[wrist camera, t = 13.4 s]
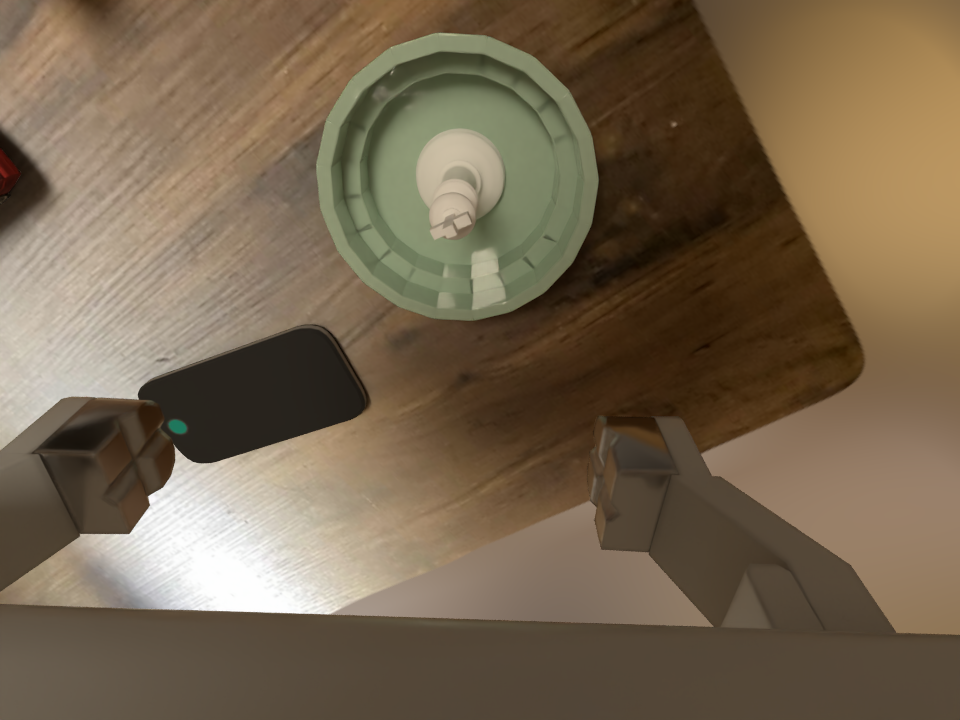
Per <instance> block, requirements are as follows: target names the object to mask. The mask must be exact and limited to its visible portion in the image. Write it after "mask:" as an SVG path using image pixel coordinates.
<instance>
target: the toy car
mask: <svg viewBox="0 0 960 720" xmlns="http://www.w3.org/2000/svg"><path fill="white" fill-rule="evenodd" d="M20 175H21V172H20V171H19V170H18V168H17V167H16V166H15V165H14V163H13V162H12V161H11V160H10V158H9V157H8V156H7V155H6V154H5V152H4V151H3V150H2V149H1V148H0V204H1V203H3V202H4V201H6V200H7V199H8V198H9V197H10V196H11V194H8V193H9V191H10V190H11V189H12V187H13V186H14V185H15V183H16V182H17V180H18V178H19V177H20Z"/></svg>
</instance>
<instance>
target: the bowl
mask: <svg viewBox="0 0 960 720" xmlns="http://www.w3.org/2000/svg"><path fill="white" fill-rule="evenodd" d="M457 128H463V129H469V130H473V131H476V132H478V133H480V134H482V135H484V136H485V137H486V138H488V139H489V140H490V141H491V142H492V143H493V144H494V145H495V147H496V148H497V149H498V151H499V153H500V155H501V157H502V159H503V163H504V167H505V185H504V189H503V192H502V194H501V197H500V198H499V200H498V202H497V203H496V205H495V206H494V207H493V209H492V210H491V211H490V212H488V213H487V214H486V215H484V216H483V217H481V218H479V219H477V220H476V223H475V226H474V228H473V230H472V231H471V232H470V233H469V234H468V235H467V236H465V237H464V238H461V239H457V240H449V239H445V238H443V237H440V238H438V239H436V240H434V239H433V237H432V235H431V233H430V227H432V226H431V224H430V221H429V211H430V209H429V208H428V207H427V206H426V204H425V203H424V202H423V200H422V198H421V196H420V194H419V191H418V188H417V183H416V165H417V161H418V158H419V155H420V153H421V151H422V150H423V148H424V146H425V145H426V144H427V143H428V142H429V141H430V140H431V139H432V138H433V137H435V136H436V135H438V134H439V133H441V132H444V131H446V130H450V129H457ZM316 164H317V165H316V172H317V182H318V192H319V202H320V210H321V212H322V215H323V217H324V220H325V222H326V224H327V227H328V229H329V232H330V234H331V236H332V239H333V241H334V244H335V246H336V248H337V250H338V252H339V253H340V255H341V256H342V257H343V258H344V259H345V261H346V262H347V263H348V264H349V266H350V267H351V268H352V269H353V271H354V272H355V273H356V274H357V276H358V277H359V278H360V279H361V280H362V282H363V283H365V284H366V285H367V286H369V287H370V288H372V289H373V290H375V291H376V292H378V293H379V294H380V295H382V296H383V297H385V298H386V299H388V300H389V301H390V302H392V303H393V304H395V305H397V306H398V307H400V308H403V309H406V310H409V311H412V312H415V313H418V314H421V315H424V316H427V317H429V318H432V319H434V318H435V319H444V320H464V321H473V320H474V321H475V320H479V319H483V318H488V317H492V316H496V315H500V314H505V313H509V312H510V311H511V312H512V311H514V310H515V309H517V308H519V307H521V306H522V305H524V304H526V303H528V302H529V301H531V300H533V299H535V298H536V297H538V296H540V295H542V294H543V293H544V292H546V291H547V290H548V289H549V288H550V287H551V286H552V285H553V283H554V282H555V281H556V280H557V279H558V278H559V277H560V276H561V275H562V274H563V273H564V272H565V271H566V270H567V269H568V268H569V267H570V266H571V264H572V262H574V260H575V258H576V256H577V254H578V252H579V250H580V248H581V246H582V244H583V242H584V240H585V238H586V236H587V234H588V232H589V230H590V228H591V224H592V222H593V215H594V209H595V203H596V197H597V190H598V184H599V177H598V171H597V164H596V158H595V151H594V144H593V138H592V135H591V132H590V130H589V128H588V126H587V124H586V122H585V120H584V118H583V116H582V114H581V112H580V110H579V108H578V106H577V104H576V102H575V100H574V98H573V96H572V94H571V93H570V92H569V90H568V89H567V88H566V87H565V86H564V85H563V84H562V83H561V82H560V81H559V80H558V79H557V78H556V77H555V76H554V75H553V74H552V73H551V72H550V71H549V70H548V69H547V68H546V67H545V66H544V65H543V64H541V63H540V62H539V61H538V60H537V59H536V58H535V57H533V56H532V55H530V54H528V53H526V52H523V51H521V50H519V49H517V48H515V47H512V46H510V45H508V44H506V43H503V42H501V41H499V40H497V39H494V38H492V37H490V36H488V37H487V36H486V35H473V34H456V33H440V32H439V33H433V34H430V35H427V36H424V37H421V38H418V39H414V40H411V41H408V42H405V43H402V44H399V45H396V46H392V47H390V48H389V49H387V50H386V51H384V52H383V53H382V54H381V55H379V56H378V57H377V58H376V59H374V60H373V61H372V62H371V63H369V64H368V65H367V66H365V67H364V68H363V69H362V70H360V71H359V72H358V73H357V74H355V75H354V76H353V77H352V79H350V80H349V82H348V84H347V85H346V87H345V89H344V90H343V92H342V94H341V95H340V97H339V99H338V100H337V102H336V103H335V105H334V107H333V108H332V110H331V112H330V113H329V115H328V117H327V120H326V121H325V126H324V130H323V135H322V140H321V144H320V149H319V153H318V158H317V163H316Z"/></svg>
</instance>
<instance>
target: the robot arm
mask: <svg viewBox="0 0 960 720" xmlns="http://www.w3.org/2000/svg"><path fill="white" fill-rule="evenodd" d="M164 420H165V418H164V416H163V413H162V411H161V408H160V406H159V404H157V403H155V402H153V401H151V400H135V399H117V398H94V397H68V398H64V399H61V400H60V401H59V402H58V403H56V404H55V405H54V406H53V407H52V408H50V409H49V410H48V411H47V412H46V413H45V414H43V415H42V416H41V417H40V418H39V419H37V420H36V421H35V422H34V423H33V424H31V425H30V426H29V427H28V428H27V429H26V430H24V431H23V432H22V433H21V434H20V435H18V436H17V437H16V438H15V439H14V440H12V441H11V442H10V443H9V444H8V445H7V446H5V447H4V448H3V449H2V450H1V451H0V591H2V590H3V589H5V588H6V587H8V586H9V585H10V584H12V583H13V582H15V581H16V580H18V579H19V578H21V577H22V576H23V575H25V574H26V573H28V572H29V571H31V570H32V569H33V568H35V567H36V566H38V565H39V564H41V563H42V562H44V561H45V560H46V559H48V558H49V557H51V556H52V555H54V554H55V553H57V552H58V551H59V550H61V549H62V548H64V547H65V546H67V545H68V544H69V543H71V542H72V541H74V540H75V539H77V538H78V537H80V534H130V532H131V531H132V529H133V528H134V527H135V525H136V524H137V523H138V521H139V520H140V518H141V517H142V516H143V514H144V513H145V512H146V510H147V509H148V507H149V506H150V504H149V499H148V496H149V495H151V494H152V493H154V492H156V491H158V490H159V489H161V488H163V487H164V485H165V484H166V482H167V481H168V479H169V478H170V476H171V474H172V470H173V467H174V463H175V448H174V445H173V442H172V439H171V437H170V436H168V435H167V434H166V433H165V432H164V431H163V430H161V429H160V427H161V425H162V423H163V421H164ZM593 436H594V440H595V444H596V446H595V447H594V448H593V449H592V450H591V451H590V452H589V459H588V466H587V483H588V492H589V497H590V501H591V502H592V503H593V504H594V505H595V506H596V507H597V509H596V515H595V525H596V529H597V534H598V538H599V542H600V547H601V549H602V550H619V551H636V552H649V555H650V556H651V558H653V560H654V561H655V562H656V563H657V564H658V565H659V566H660V568H661V569H662V570H663V571H664V572H665V573H666V574H667V575H668V576H669V577H670V579H672V581H673V582H674V583H675V584H676V585H677V586H678V587H679V589H680V590H681V591H683V593H684V594H685V595H686V596H687V597H688V598H689V600H690V601H691V602H692V603H693V604H694V605H695V606H696V607H697V608H698V610H699V611H700V612H701V613H702V614H703V615H704V616H705V617H706V618H707V620H708V621H709V622H710V623H711V624H712V625H713V626H714V627H696V626H666V625H634V624H602V623H600V624H599V623H571V622H539V621H538V622H537V621H508V620H478V619H448V618H416V617H388V616H386V617H385V616H357V615H356V616H355V615H326V614H295V613H263V612H232V611H201V610H169V609H138V608H107V607H76V606H45V605H13V604H0V720H960V635H945V634H913V633H912V634H911V633H896V631H895V630H894V628H893V627H892V625H891V624H890V623H889V621H888V619H887V618H886V617H885V615H884V614H883V612H882V611H881V609H880V608H879V606H878V605H877V603H876V602H875V600H874V599H873V598H872V596H871V594H870V593H869V592H868V590H867V589H866V587H865V586H864V584H863V583H862V581H861V580H860V578H859V577H858V575H857V574H856V572H855V571H854V569H853V568H852V567H851V565H850V564H848V563H847V562H845V561H844V560H842V559H841V558H839V557H838V556H836V555H835V554H833V553H832V552H830V551H829V550H827V549H826V548H824V547H823V546H821V545H820V544H819V543H817V542H816V541H814V540H813V539H811V538H810V537H808V536H807V535H805V534H804V533H802V532H801V531H799V530H798V529H797V528H795V527H794V526H792V525H791V524H789V523H788V522H786V521H785V520H783V519H782V518H780V517H779V516H777V515H776V514H774V513H773V512H772V511H770V510H769V509H767V508H766V507H764V506H763V505H761V504H760V503H758V502H757V501H755V500H754V499H752V498H751V497H750V496H748V495H747V494H745V493H744V492H742V491H741V490H739V489H738V488H736V487H735V486H733V485H732V484H730V483H729V482H727V481H726V480H724V479H723V478H722V477H717V476H711V473H710V472H709V469H708V468H707V466H706V464H705V462H704V460H703V458H702V456H701V454H700V452H699V450H698V448H697V446H696V444H695V442H694V440H693V438H692V437H691V435H690V433H689V431H688V429H687V427H686V425H685V423H684V421H683V419H681V418H680V417H678V416H652V417H624V416H597V418H596V421H595V424H594V430H593Z"/></svg>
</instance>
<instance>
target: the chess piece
mask: <svg viewBox="0 0 960 720" xmlns="http://www.w3.org/2000/svg"><path fill="white" fill-rule="evenodd" d="M416 183H417V188H418V191H419V194H420V196H421V198H422V200H423V202H424V203H425V204H426V206H427V207H428V208H429V209H430V211H429V221H430V224H431V226H432V227H430V233H431V235H432V237H433V239H434V240H436V239H438V238H440V237H443V238H445V239H449V240H457V239H461V238H464V237H465V236H467V235H468V234H469V233H470V232H471V231H472V230H473V228H474V226H475V223H476V220H477V219H479V218H481V217H483V216H484V215H486V214H487V213H488V212H490V211H491V210H492V209H493V207H494V206H495V205H496V203H497V202H498V200H499V198H500V197H501V194H502V192H503V189H504V185H505V167H504V163H503V159H502V157H501V155H500V153H499V151H498V149H497V148H496V147H495V145H494V144H493V143H492V142H491V141H490V140H489V139H488V138H486V137H485V136H484V135H482V134H480V133H478V132H476V131H473V130H469V129H463V128H457V129H450V130H446V131H444V132H441V133H439V134H438V135H436V136H435V137H433V138H432V139H431V140H430V141H429V142H428V143H427V144H426V145H425V146H424V148H423V150H422V151H421V153H420V155H419V158H418V161H417V165H416Z"/></svg>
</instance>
